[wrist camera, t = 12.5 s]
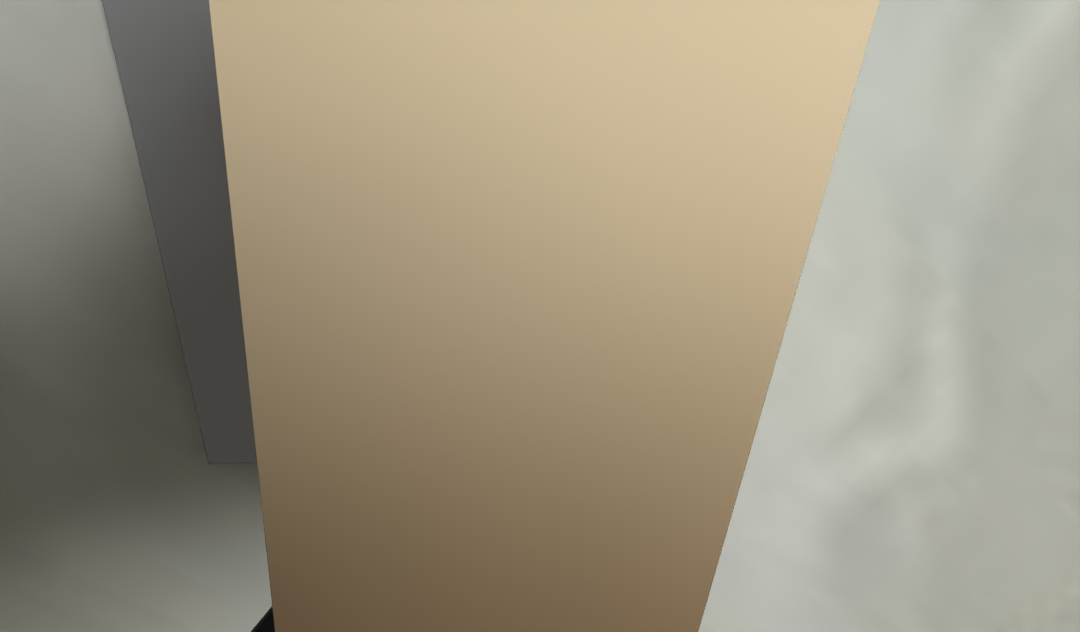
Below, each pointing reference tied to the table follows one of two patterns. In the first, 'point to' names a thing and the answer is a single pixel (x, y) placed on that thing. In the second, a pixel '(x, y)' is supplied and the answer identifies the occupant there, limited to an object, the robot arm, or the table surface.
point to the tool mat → (189, 202)
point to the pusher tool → (517, 292)
